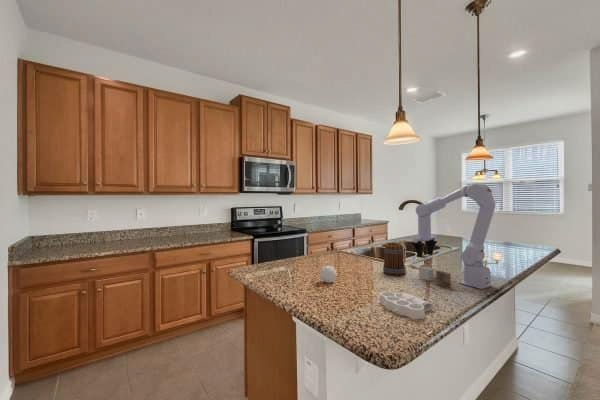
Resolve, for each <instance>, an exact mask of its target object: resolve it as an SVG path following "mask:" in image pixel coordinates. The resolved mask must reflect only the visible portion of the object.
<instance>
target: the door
mask: <svg viewBox="0 0 600 400" xmlns="http://www.w3.org/2000/svg"><path fill="white" fill-rule="evenodd" d="M438 270H439V267H437V266H435V268H434V277H436V271H438Z"/></svg>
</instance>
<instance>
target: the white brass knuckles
mask: <svg viewBox="0 0 600 400" xmlns="http://www.w3.org/2000/svg"><path fill="white" fill-rule="evenodd" d="M379 304H381V305H382V306H384V308H385V307H386V308H385V309H387V310H388V309H389V311H391V310H392V312H393V313H394V314H396V313H397V314H398V315H401V316H404V317H407V318H409V319H411V320H422V319H424V318H425V312H429V311H431V310H432V308H433V303H431V302H430V301H426V300H424V299H420V298H419V297H417V296H413V295H411V294H408V293H407V292H398V293H397V292H390V291H382V292H380V293H379Z"/></svg>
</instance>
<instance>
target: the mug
mask: <svg viewBox="0 0 600 400" xmlns="http://www.w3.org/2000/svg"><path fill="white" fill-rule="evenodd" d="M383 250H384V251H383V252H384V254H383V255H384V256H383V257H384V258H383V266H382V267H383V268H382V270H383V273H384V274H386V275H388V276H394V277H395V276H396V277H397V276H398V277H400V276H403V275H405V273H406V267H405V262H404V249H403V244H402V243H401V242H398V241H395V242H386V243H385V244H384V249H383Z"/></svg>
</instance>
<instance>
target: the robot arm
mask: <svg viewBox="0 0 600 400" xmlns="http://www.w3.org/2000/svg"><path fill="white" fill-rule="evenodd" d="M461 198H470V199H472V200H473V201H474V202H475V203H476V204H477V205H478V207H479V209H478V213H477V217H476V220H475V224H474V226H473V229H472V233H471V237H470V240H469V242H468V244H467V245H466V247H465V250H464V251H462V253H461V255H460V257H461V260H462V262H463V280H462V281H459V284H462V285H464V286H469V287H473V288H476V289H480V290H484V289H487V288H490V287H493V285H492V283H491V282H492V281H491V280H492V279H491V274H492V272H491V269H490V267H488V266H486V265H484V263H483V260H484V259H485V255H486V254H485V247H486V246H485V245H484V244H485V241H486V239H487V236H488V232H489V229H490V225H491V221H492V219H493V216H494V212H495V209H496V206H497V205H496V201H495V199H494V196H493V191H492V189H491V188H490V187H489V186H488V185H487V184H485V183H471V184H469V185H464V186H463V187H460V188H458V189H457V190H455V191H453V192H451V193H449V194H447V195H446V196H443V197H440V196H438V197H437V196H434V197H432V199H431V200H429V201H425V202H424V204H423V203H422V204H421V203H420V204H418V205H417V206H416V207H415V213H416V215H417V230H418V231H417V233H418V234H417V235H418V236H416V237H413V239H412V245H413V246H414V249H415V251H416V255H417V257H419V258H422V257H423V253H424V252H423V251H424V246H425V245H426V253H427V255H429V256H433V253H434V250H435V246H436V245H437V243H438V241H437V237H436V235H432V227H431V226H432V224H431V223H432V221H431V219H432V217H431V216H432V214H434V213H436V212H438V211H440V210H442V209H444V208H445V207H446V206H447V204H449V203H452V202H454V201H456V200H458V199H461ZM422 242H424V243H422Z"/></svg>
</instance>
